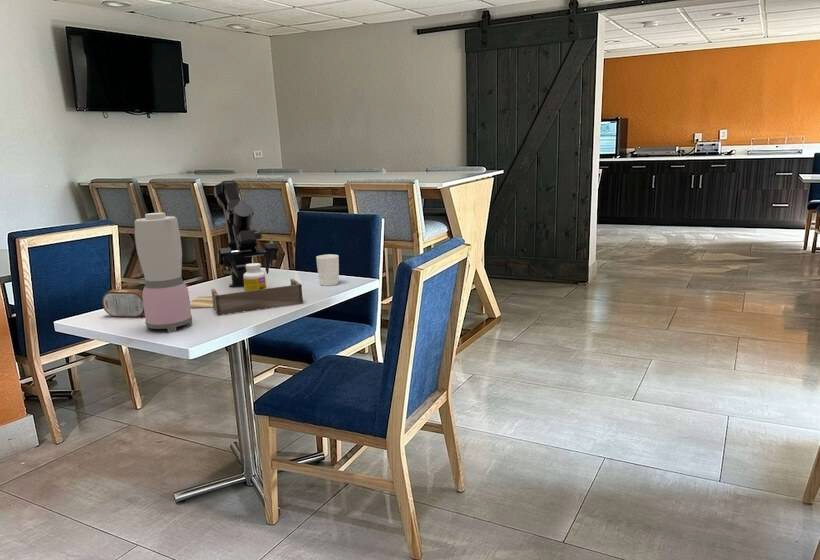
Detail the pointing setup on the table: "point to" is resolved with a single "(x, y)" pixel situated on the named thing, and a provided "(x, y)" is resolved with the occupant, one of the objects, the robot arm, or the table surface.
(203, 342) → the table surface
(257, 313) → the table surface
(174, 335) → the table surface
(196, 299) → the coaster
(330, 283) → the white cup
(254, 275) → the supplement bottle
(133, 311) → the tin
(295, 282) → the cubby
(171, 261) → the blender
